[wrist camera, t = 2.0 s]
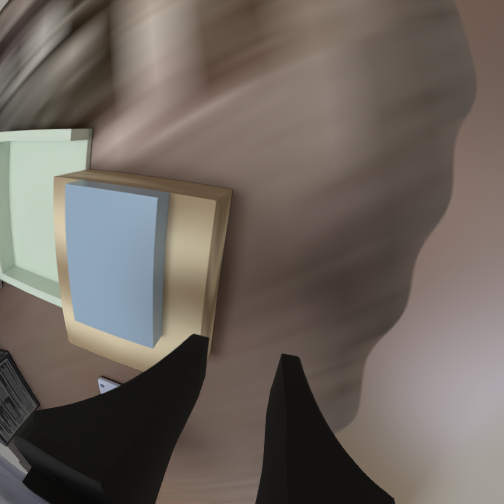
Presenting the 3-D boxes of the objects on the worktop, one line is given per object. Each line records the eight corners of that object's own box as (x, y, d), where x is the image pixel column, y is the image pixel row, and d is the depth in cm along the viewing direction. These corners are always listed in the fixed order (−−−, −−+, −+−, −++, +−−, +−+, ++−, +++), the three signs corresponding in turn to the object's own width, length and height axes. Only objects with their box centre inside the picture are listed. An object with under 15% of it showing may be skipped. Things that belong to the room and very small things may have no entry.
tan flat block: (210, 353, 23) (196, 387, 19) (94, 317, 24) (69, 342, 20) (232, 189, 19) (216, 200, 15) (89, 169, 19) (53, 176, 16)
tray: (91, 299, 23) (75, 312, 21) (15, 269, 24) (-1, 278, 22) (93, 128, 18) (71, 129, 16) (10, 131, 19) (-10, 133, 17)
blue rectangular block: (162, 335, 18) (153, 348, 17) (86, 309, 19) (74, 320, 17) (170, 192, 15) (157, 198, 14) (81, 179, 15) (65, 183, 14)
